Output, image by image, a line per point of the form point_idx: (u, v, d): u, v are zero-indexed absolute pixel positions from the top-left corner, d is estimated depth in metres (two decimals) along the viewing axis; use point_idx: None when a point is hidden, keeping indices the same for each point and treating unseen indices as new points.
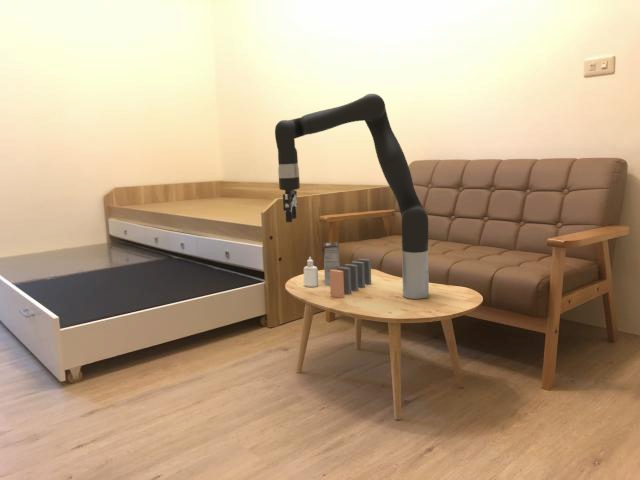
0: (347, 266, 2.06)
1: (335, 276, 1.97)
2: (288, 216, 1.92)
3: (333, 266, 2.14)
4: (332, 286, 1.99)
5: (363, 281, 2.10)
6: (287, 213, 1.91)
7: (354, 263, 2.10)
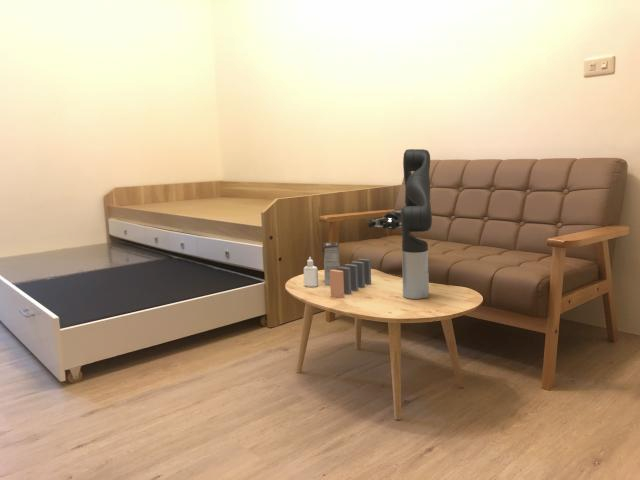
0: (347, 266, 2.06)
1: (335, 276, 1.97)
2: None
3: (333, 266, 2.14)
4: (332, 286, 1.99)
5: (363, 281, 2.10)
6: None
7: (354, 263, 2.10)
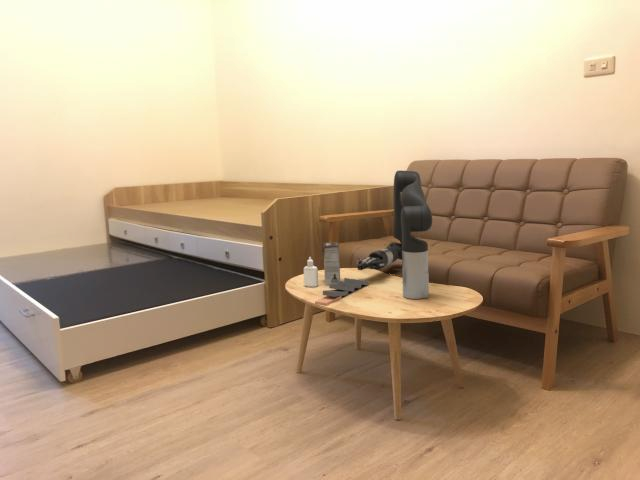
0: (333, 288, 1.99)
1: None
2: None
3: (333, 266, 2.14)
4: None
5: (358, 285, 2.07)
6: None
7: None
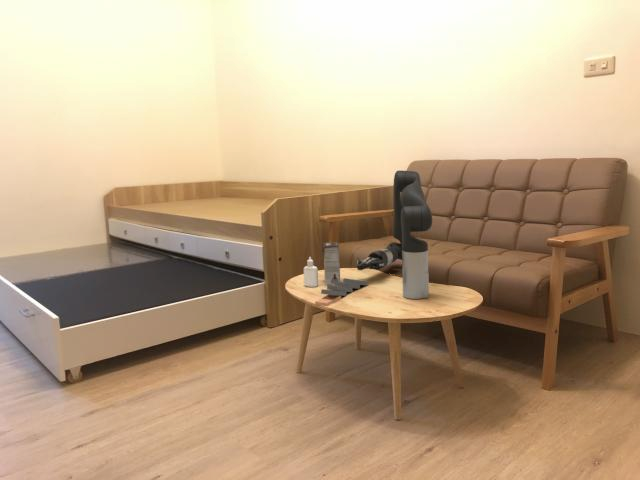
0: (330, 289, 1.98)
1: None
2: None
3: (333, 266, 2.14)
4: None
5: (356, 285, 2.06)
6: None
7: (337, 285, 2.03)
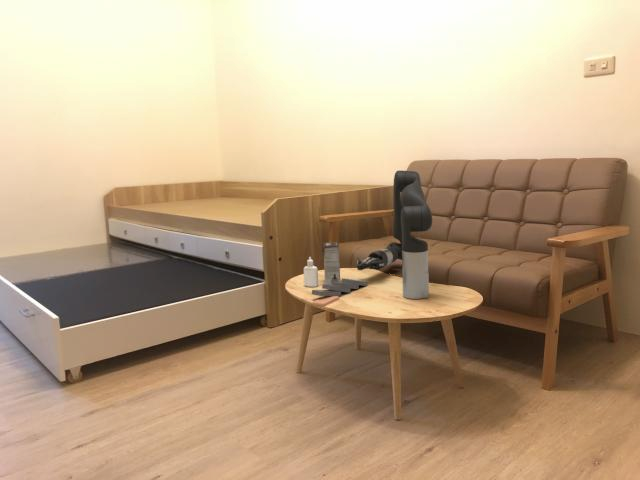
0: (325, 288, 1.99)
1: None
2: None
3: (333, 266, 2.14)
4: None
5: (354, 286, 2.06)
6: None
7: (335, 285, 2.03)
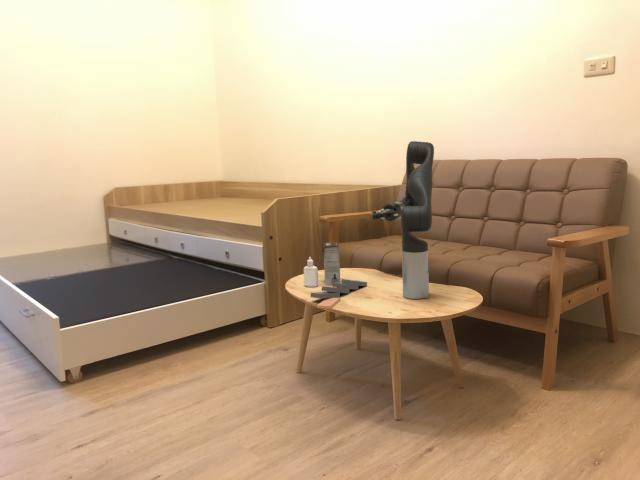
0: None
1: None
2: None
3: (333, 266, 2.14)
4: None
5: (354, 286, 2.06)
6: None
7: None
